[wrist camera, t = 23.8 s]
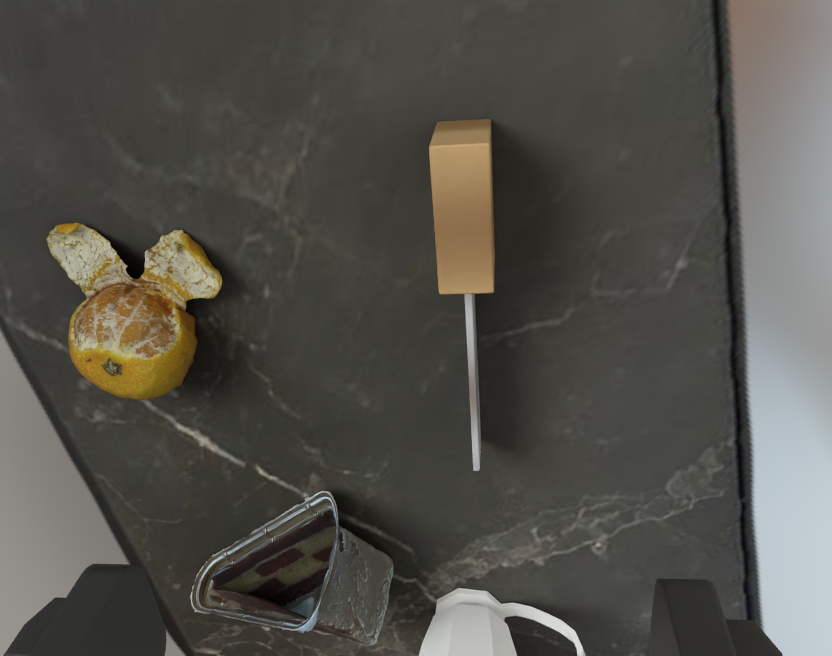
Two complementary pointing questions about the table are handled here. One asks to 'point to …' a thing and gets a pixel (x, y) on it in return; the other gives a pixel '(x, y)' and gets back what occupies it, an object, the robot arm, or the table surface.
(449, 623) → the cup
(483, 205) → the knife
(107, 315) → the fruit
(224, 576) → the chocolate cake
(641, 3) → the table surface
